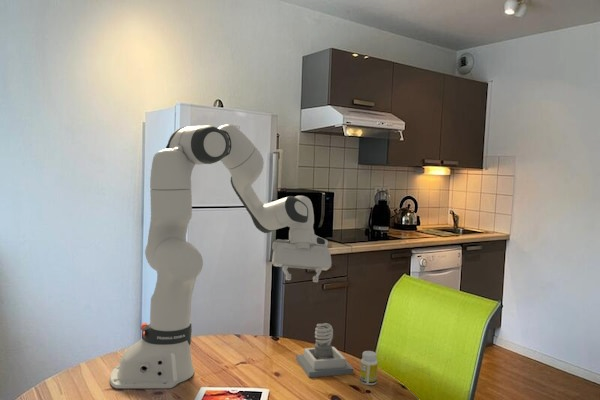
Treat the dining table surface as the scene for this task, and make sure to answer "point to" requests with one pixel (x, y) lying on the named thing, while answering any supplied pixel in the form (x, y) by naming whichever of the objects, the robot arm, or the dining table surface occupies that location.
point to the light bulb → (322, 346)
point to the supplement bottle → (368, 368)
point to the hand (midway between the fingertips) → (302, 280)
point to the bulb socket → (323, 363)
